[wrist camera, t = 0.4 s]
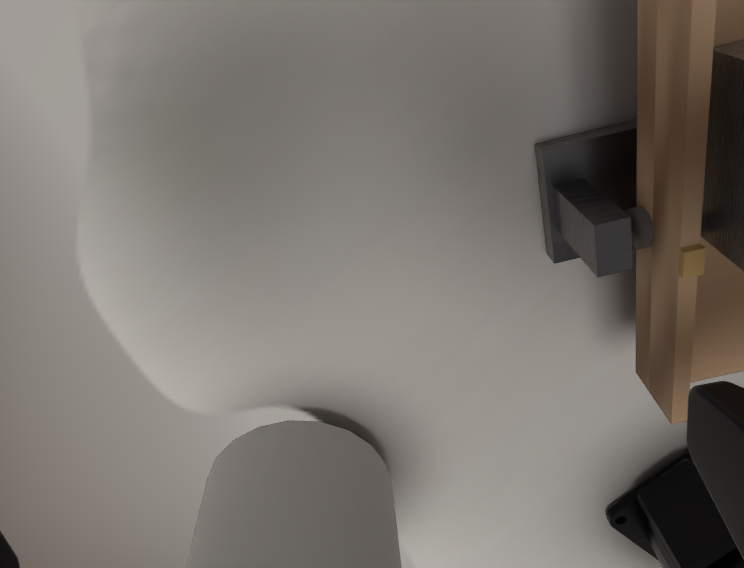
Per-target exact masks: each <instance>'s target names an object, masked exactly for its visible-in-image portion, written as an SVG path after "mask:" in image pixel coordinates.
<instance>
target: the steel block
mask: <svg viewBox="0 0 744 568" xmlns="http://www.w3.org/2000/svg"><path fill="white" fill-rule="evenodd" d="M700 236H701V237H702V238H704V239H705V240H706V241H707V242H708V243H710V244H711V245H712V246H713V247H714V248H716V249H717V250H718V251H719V252H720V253H722V254H723V255H724V256H725V257H727V258H728V259H729V260H730V261H731V262H733V263H734V264H735V265H736V266H737V267H739V268H740V269H741V270H742V271H744V39H741V40H737V41H733V42H729V43H725V44H721V45H717V46H714V47H713V62H712V76H711V90H710V105H709V119H708V134H707V148H706V163H705V177H704V192H703V206H702V221H701V235H700Z"/></svg>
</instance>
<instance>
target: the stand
mask: <svg viewBox="0 0 744 568" xmlns="http://www.w3.org/2000/svg"><path fill="white" fill-rule="evenodd" d="M535 151H536V160H537V169H538V178H539V187H540V196H541V205H542V214H543V223H544V232H545V240H546V249H547V255H548V256H549V257H550V258H551V260H552V261H553V262H554V263H559V262H563V261H567V260H571V259H576V258H581V259H582V260H583V261H584V262H585V263H586V264H587V266H588V267H589V268H590V269H591V270H592V271H593V273H594V274H595V275H596V276H597V277H601V276H605V275H610V274H614V273H618V272H622V271H627V270H631V269H633V255H632V231H631V217H630V216H629V215H628V214H627V213H626V211H627V210H628V209H630V208H634V207H637V119H636V120H632V121H628V122H624V123H619V124H615V125H611V126H607V127H603V128H599V129H595V130H591V131H587V132H583V133H579V134H575V135H571V136H567V137H562V138H558V139H554V140H550V141H546V142H542V143H538V144H535Z"/></svg>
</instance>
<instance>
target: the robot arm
mask: <svg viewBox="0 0 744 568" xmlns="http://www.w3.org/2000/svg"><path fill="white" fill-rule="evenodd" d="M687 446H688V449H689V451H688V452H687V453H686V454H684V455H683V456H681V457H680V458H679V459H677V460H676V461H675V462H673V463H672V464H670V465H669V466H668V467H666V468H665V469H664V470H662V471H661V472H659V473H658V474H657V475H655V476H654V477H653V478H651V479H650V480H648V481H647V482H646V483H644V484H643V485H642V486H640V487H639V488H637V489H636V490H635V491H633V492H632V493H631V494H629V495H628V496H627V497H625V498H624V499H622V500H621V501H620V502H618V503H617V504H616V505H614V506H613V507H611V508H610V509H609V510H608V511H607V514H606V517H607V519H608V521H609V523H610V525H611V526H612V527H613V528H615V529H616V530H617V531H619V532H620V533H622V534H623V535H624V536H626V537H627V538H629V539H630V540H631V541H633V542H634V543H636V544H637V545H638V546H640V547H641V548H642V549H644V550H645V551H647V552H648V553H649V554H651V555H652V556H654V557H655V558H656V559H658V560H659V561H660V563H661V565H662V566H663V568H744V388H742V387H740V386H738V385H735V384H733V383H730V382H726V381H719V382H714V383H708V384H703V385H697V386H694V387H693V388H692V389H691V390H690V392H689V395H688V410H687ZM0 568H20V567H19V561H18V558H17V556H16V554H15V552H14V551H13V549H12V548H11V546H10V545H9V543H8V542H7V540H6V539H5V537H4V535H3V534H2V533H1V531H0Z"/></svg>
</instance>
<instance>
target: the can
mask: <svg viewBox="0 0 744 568" xmlns="http://www.w3.org/2000/svg"><path fill="white" fill-rule="evenodd" d="M185 568H401V559H400V550H399V541H398V533H397V524H396V515H395V507H394V498H393V489H392V483H391V480H390V476H389V473H388V469H387V466H386V463H385V462H384V461H383V459H382V458H381V457H380V456H379V454H378V453H377V452H376V450H375V449H374V448H373V447H372V445H371V444H369V443H367V442H366V441H364V440H363V439H361V438H360V437H358V436H356V435H355V434H353V433H352V432H350V431H349V430H346V429H343V428H339V427H336V426H332V425H329V424H326V423H322V422H315V421H284V422H280V423H275V424H271V425H266V426H261V427H258V428H256V429H254V430H252V431H250V432H248V433H246V434H245V435H243V436H241V437H239V438H237V439H235V440H234V441H232V442H231V443H230V444H229V445H228V446H227V447H226V448H225V449H224V451H223V452H222V453H221V454H220V455H219V456H218V457H217V458H216V459H215V461H214V464H213V466H212V469H211V471H210V474H209V476H208V478H207V482H206V485H205V490H204V494H203V498H202V502H201V506H200V510H199V514H198V518H197V522H196V526H195V530H194V534H193V538H192V542H191V546H190V550H189V554H188V559H187V562H186V566H185Z"/></svg>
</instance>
